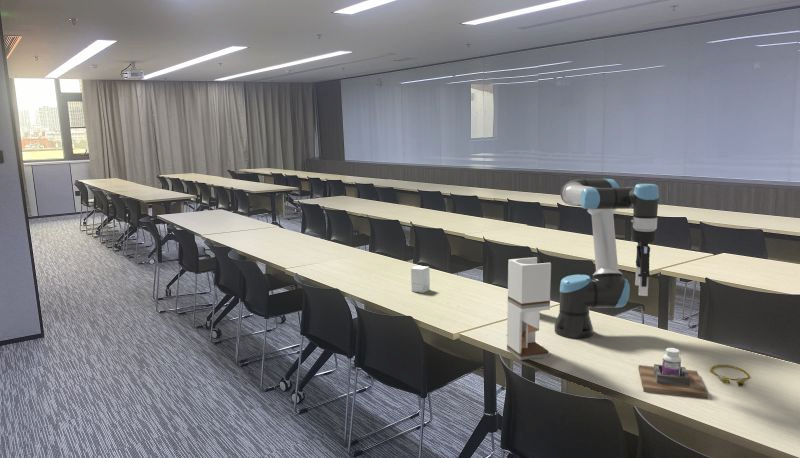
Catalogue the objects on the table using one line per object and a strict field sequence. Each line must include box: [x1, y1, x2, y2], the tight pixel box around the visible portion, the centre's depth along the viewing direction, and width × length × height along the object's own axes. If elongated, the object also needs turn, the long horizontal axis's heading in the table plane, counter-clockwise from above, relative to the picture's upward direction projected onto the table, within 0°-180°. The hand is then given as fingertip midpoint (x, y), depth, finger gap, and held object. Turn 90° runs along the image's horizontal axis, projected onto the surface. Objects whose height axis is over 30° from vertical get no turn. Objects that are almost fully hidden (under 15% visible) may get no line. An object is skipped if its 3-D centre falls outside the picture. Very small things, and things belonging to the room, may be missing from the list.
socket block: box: [638, 363, 708, 399], centre depth 186 cm, size 18×18×4 cm
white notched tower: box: [506, 256, 552, 361], centre depth 210 cm, size 11×11×35 cm
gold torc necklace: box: [709, 364, 751, 388], centre depth 191 cm, size 12×16×2 cm
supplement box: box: [410, 265, 431, 294], centre depth 300 cm, size 7×7×13 cm
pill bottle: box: [661, 347, 682, 376], centre depth 185 cm, size 5×5×10 cm
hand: (641, 290), depth 198 cm, fingers open, 13 cm apart
